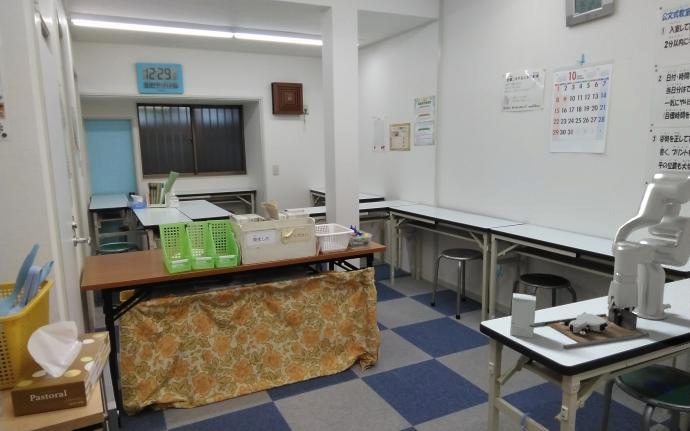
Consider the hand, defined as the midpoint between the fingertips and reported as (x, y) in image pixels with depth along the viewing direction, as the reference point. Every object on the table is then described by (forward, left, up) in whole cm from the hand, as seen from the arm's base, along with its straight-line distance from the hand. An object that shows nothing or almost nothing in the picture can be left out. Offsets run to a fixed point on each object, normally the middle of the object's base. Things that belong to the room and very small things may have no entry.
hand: (621, 323), depth 170 cm
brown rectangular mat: (+12, 0, -1) cm, 12 cm away
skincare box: (+40, -5, -1) cm, 40 cm away
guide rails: (+16, 0, -1) cm, 16 cm away
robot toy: (+17, 0, -1) cm, 17 cm away
